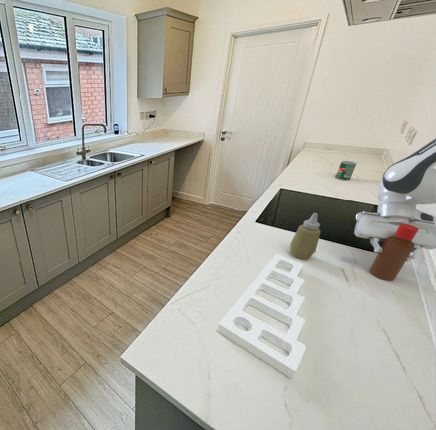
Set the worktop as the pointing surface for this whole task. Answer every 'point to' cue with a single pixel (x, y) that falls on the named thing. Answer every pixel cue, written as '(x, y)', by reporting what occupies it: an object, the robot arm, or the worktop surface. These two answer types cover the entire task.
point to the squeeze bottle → (306, 238)
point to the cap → (406, 231)
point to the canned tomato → (345, 170)
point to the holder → (262, 329)
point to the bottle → (391, 258)
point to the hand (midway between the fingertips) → (394, 255)
